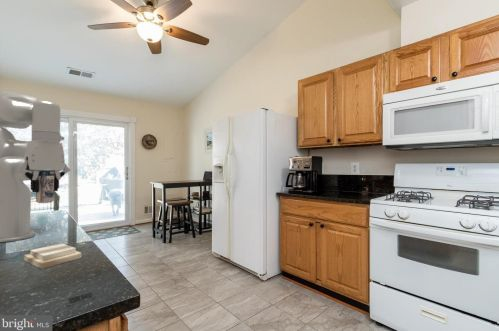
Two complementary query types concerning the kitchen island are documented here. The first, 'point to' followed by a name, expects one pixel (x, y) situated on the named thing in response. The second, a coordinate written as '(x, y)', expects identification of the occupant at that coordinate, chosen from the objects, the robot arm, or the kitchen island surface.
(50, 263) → the stacking base
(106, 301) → the kitchen island surface
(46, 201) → the beer can
